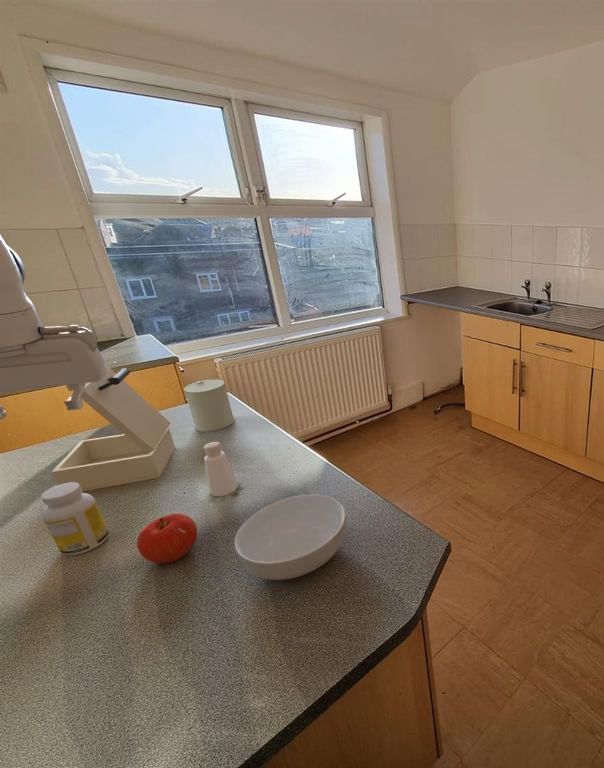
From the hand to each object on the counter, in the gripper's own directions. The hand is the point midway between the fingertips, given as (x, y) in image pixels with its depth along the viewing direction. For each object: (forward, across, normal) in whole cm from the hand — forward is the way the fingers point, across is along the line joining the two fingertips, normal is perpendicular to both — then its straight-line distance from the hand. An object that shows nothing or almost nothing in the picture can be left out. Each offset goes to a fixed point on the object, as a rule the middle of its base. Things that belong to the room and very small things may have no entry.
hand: (38, 413), depth 69 cm
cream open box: (+25, +2, -24) cm, 35 cm away
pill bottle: (+25, 0, +2) cm, 25 cm away
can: (+25, -13, -42) cm, 50 cm away
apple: (+25, -14, +11) cm, 31 cm away
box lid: (+11, -2, -24) cm, 26 cm away
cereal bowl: (+25, -34, +20) cm, 47 cm away
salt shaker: (+25, -20, -7) cm, 33 cm away
